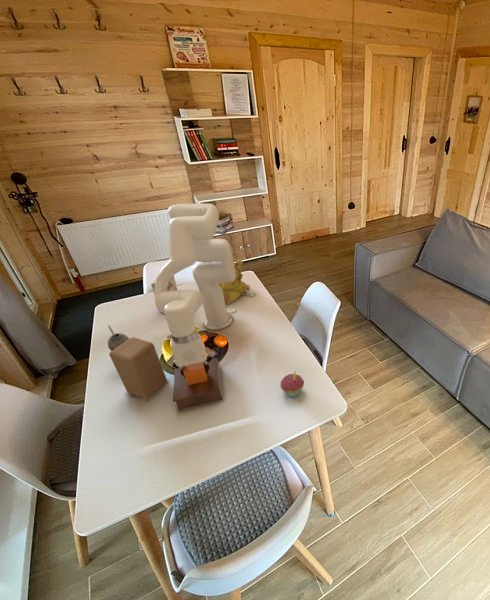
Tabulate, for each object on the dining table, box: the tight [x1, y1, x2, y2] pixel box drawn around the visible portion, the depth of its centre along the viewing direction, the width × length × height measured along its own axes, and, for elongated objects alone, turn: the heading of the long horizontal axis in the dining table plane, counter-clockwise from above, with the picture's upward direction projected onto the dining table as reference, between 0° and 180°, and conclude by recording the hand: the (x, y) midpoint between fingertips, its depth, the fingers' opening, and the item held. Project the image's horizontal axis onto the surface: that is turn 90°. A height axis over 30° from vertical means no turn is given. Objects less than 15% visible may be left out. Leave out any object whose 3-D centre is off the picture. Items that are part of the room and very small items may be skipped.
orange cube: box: [183, 362, 207, 385], centre depth 121 cm, size 7×7×7 cm
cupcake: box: [279, 370, 305, 397], centre depth 123 cm, size 9×8×12 cm
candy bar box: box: [150, 275, 178, 296], centre depth 168 cm, size 11×5×16 cm, turn 172°
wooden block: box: [108, 336, 168, 400], centre depth 121 cm, size 10×10×20 cm
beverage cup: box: [107, 324, 130, 352], centre depth 130 cm, size 7×7×20 cm
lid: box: [172, 357, 220, 403], centre depth 123 cm, size 15×17×1 cm
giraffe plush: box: [218, 259, 255, 305], centre depth 178 cm, size 20×24×19 cm
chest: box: [175, 362, 223, 411], centre depth 125 cm, size 14×17×5 cm
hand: (196, 373), depth 122 cm, fingers closed on orange cube, 6 cm apart
